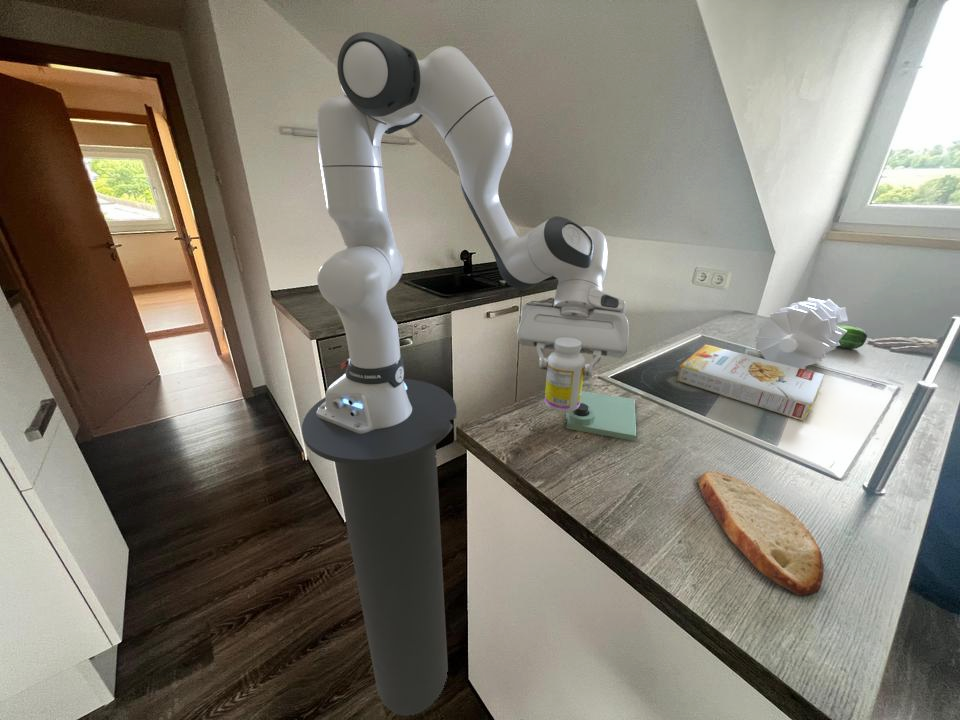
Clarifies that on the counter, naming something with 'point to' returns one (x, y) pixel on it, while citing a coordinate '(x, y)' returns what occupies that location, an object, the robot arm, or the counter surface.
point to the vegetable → (852, 337)
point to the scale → (605, 416)
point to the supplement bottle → (565, 375)
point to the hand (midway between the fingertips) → (565, 371)
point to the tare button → (581, 410)
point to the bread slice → (765, 533)
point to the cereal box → (753, 380)
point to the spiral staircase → (801, 333)
